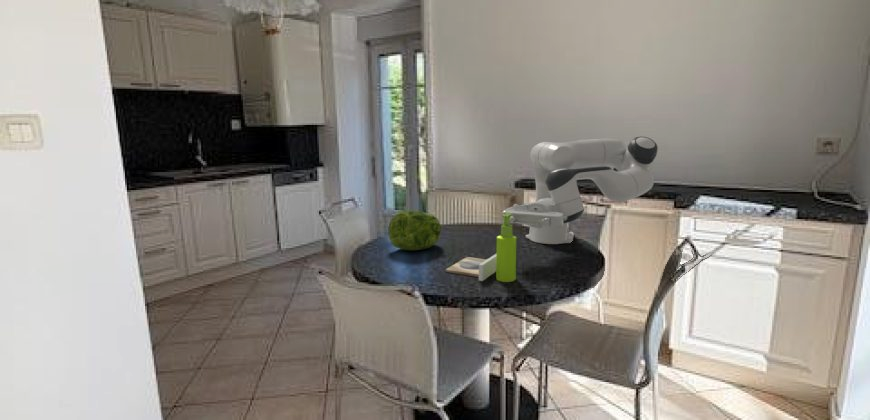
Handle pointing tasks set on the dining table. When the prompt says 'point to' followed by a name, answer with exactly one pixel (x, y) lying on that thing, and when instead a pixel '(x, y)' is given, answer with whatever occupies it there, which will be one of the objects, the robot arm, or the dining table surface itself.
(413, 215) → the lettuce
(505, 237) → the soap dispenser
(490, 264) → the low wall
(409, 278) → the dining table surface
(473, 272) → the oak board
